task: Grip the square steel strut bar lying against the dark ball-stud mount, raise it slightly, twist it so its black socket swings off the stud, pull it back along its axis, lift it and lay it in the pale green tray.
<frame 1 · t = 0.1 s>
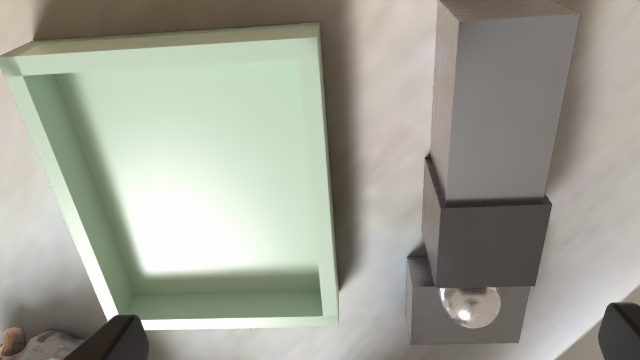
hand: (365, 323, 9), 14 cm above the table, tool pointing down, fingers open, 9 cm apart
tray: (207, 184, 25), on the table
stud mount: (458, 284, 28), on the table
strut: (475, 105, 22), on the table
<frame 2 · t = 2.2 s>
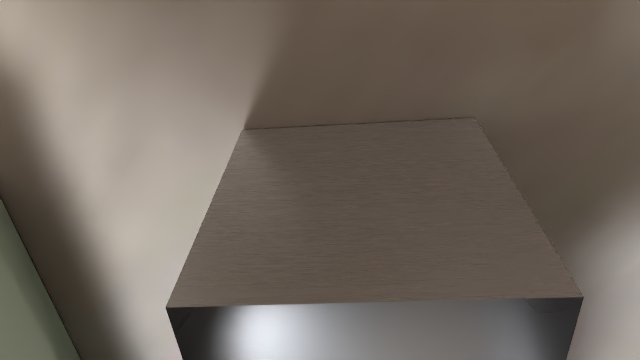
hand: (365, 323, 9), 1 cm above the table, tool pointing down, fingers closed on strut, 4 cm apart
strut: (364, 322, 11), on the table, touching gripper
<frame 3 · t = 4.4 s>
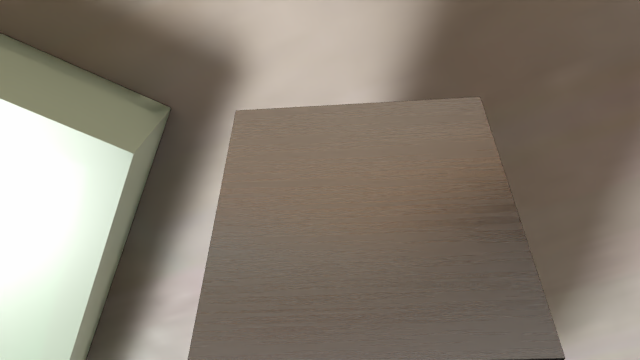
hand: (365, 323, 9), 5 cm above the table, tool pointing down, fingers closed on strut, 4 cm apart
strut: (360, 259, 11), point 3 cm above the table, tilted 18°, touching gripper
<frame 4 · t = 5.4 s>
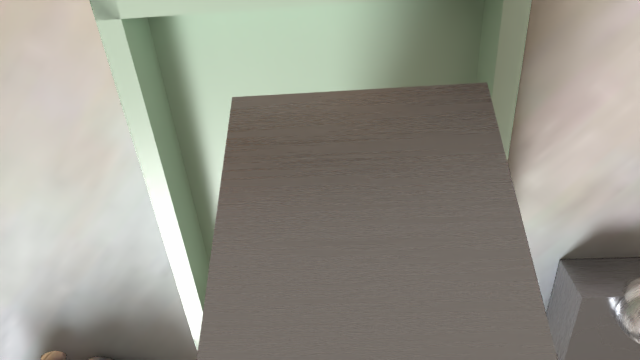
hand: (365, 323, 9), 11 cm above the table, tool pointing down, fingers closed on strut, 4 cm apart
tray: (325, 170, 20), on the table
stud mount: (615, 293, 23), on the table
strut: (361, 228, 12), point 8 cm above the table, tilted 26°, touching gripper
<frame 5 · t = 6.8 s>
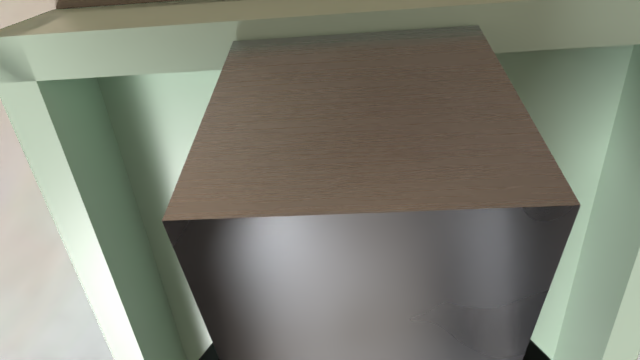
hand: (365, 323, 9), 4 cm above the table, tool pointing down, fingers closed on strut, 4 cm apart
tray: (362, 275, 14), on the table
strut: (360, 236, 11), point 2 cm above the table, tilted 10°, touching gripper, tray
when the fingers open (4 cm above the table, at t = 7.2 s): strut stays where it is, resting on tray.
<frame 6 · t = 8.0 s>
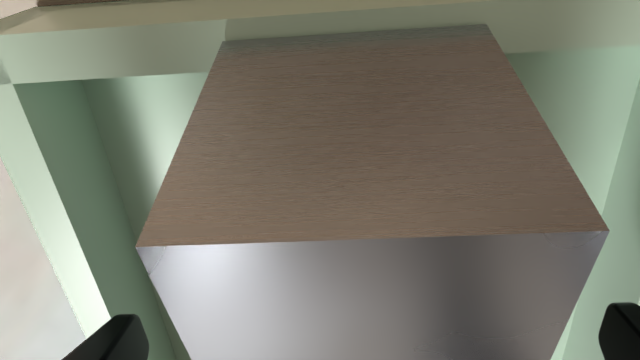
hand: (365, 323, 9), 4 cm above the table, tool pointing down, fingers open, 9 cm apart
tray: (361, 283, 13), on the table
strut: (359, 245, 10), point 2 cm above the table, tilted 10°, touching tray
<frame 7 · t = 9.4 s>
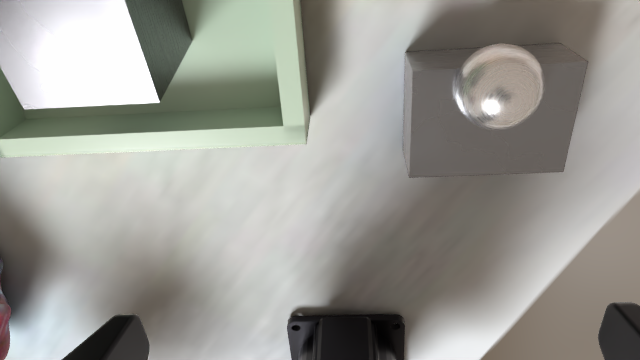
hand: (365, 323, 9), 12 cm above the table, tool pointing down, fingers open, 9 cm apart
stud mount: (476, 100, 20), on the table
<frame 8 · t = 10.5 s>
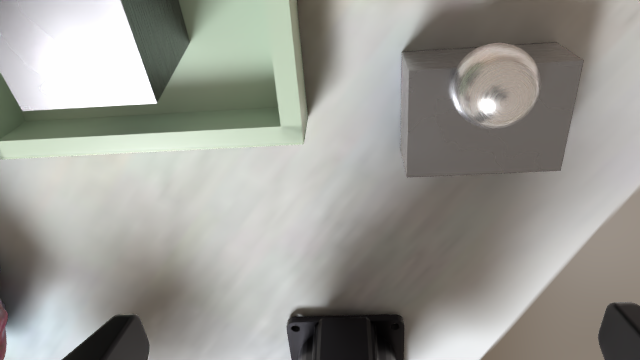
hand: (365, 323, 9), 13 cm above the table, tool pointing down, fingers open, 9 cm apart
stud mount: (473, 99, 20), on the table
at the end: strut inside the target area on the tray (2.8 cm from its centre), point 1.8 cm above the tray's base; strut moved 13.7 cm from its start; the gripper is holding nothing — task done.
